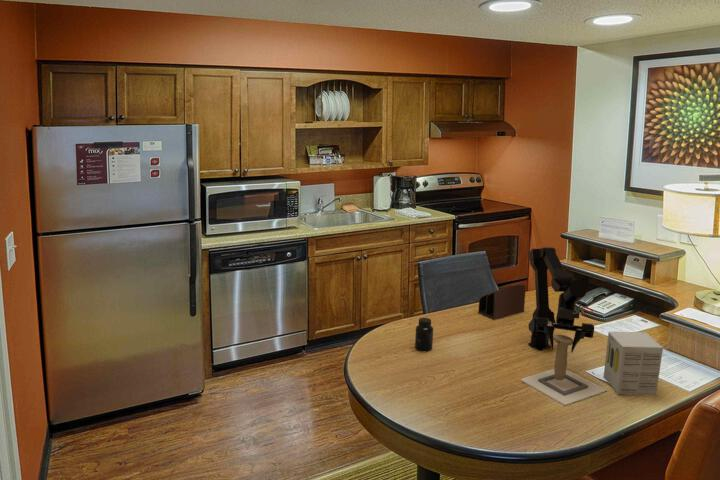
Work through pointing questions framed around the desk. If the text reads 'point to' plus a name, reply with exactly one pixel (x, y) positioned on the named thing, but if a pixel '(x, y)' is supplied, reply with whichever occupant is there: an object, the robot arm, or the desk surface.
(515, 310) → the letter holder
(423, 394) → the desk surface
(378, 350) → the desk surface
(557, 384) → the socket plate
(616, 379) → the supplement box
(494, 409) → the desk surface
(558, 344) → the handle
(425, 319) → the supplement bottle
